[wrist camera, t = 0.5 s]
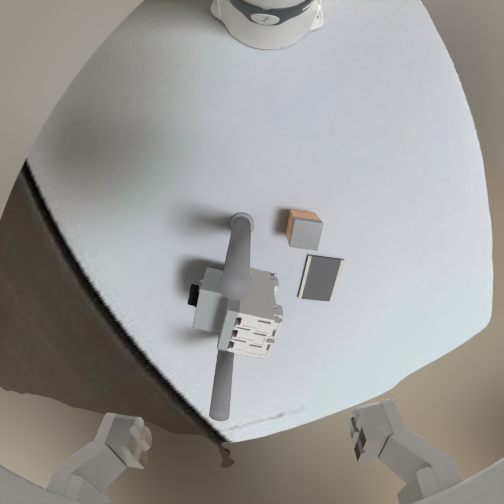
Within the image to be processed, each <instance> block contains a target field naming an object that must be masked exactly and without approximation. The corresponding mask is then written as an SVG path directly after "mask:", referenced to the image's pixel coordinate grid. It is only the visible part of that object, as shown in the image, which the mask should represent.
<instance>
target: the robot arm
mask: <svg viewBox="0 0 504 504" xmlns="http://www.w3.org/2000/svg"><path fill="white" fill-rule="evenodd" d="M210 11H211V14H212V15H213V16H215V17H216V18H218V19H219V20H221V21H222V22H223V23H224V24H225V26H226V28H227V29H228V31H229V32H230V34H231V35H232V36H233V37H234V38H236V39H237V40H238V41H240V42H242V43H243V44H245V45H248V46H251V47H254V48H258V49H279V48H284V47H287V46H290V45H292V44H294V43H295V42H297V41H298V40H300V39H301V38H302V37H303V36H304V35H305V34H307V33H308V32H312V31H315V30H318V29H320V28H322V26H323V24H324V20H323V12H322V5H321V0H214V1H213V3H212V5H211V8H210ZM317 17H318V18H317ZM352 413H353V417H352V418H351V421H350V433H351V438H352V440H353V441H354V442H356V445H355V448H354V450H355V454H356V458H357V462H361V461H366V460H370V459H375V458H378V459H379V460H380V461H382V462H383V463H384V464H385V465H386V466H387V467H388V468H389V469H391V470H392V471H393V472H394V473H395V474H396V475H398V476H399V477H400V478H401V479H402V480H403V481H404V482H406V483H407V484H406V485H405V486H404V487H403V488H402V489H401V491H400V492H399V493H398V495H397V497H398V501H399V504H504V458H502V459H501V460H499V461H497V462H496V463H494V464H493V465H491V466H489V467H488V468H486V469H484V470H482V471H481V472H479V473H477V474H475V475H474V476H472V477H470V478H468V479H466V480H464V481H462V480H461V478H460V475H459V473H458V470H457V468H456V465H455V463H454V461H453V458H452V456H451V455H449V454H447V453H446V452H444V451H442V450H441V449H439V448H438V447H436V446H434V445H433V444H431V443H430V442H428V441H426V440H425V439H423V438H422V437H420V436H419V435H417V434H415V433H414V432H412V431H411V430H407V431H406V429H405V426H404V424H403V421H402V419H401V417H400V414H399V412H398V410H397V407H396V405H395V402H394V401H393V400H392V399H387V400H383V401H380V402H374V403H370V404H366V405H361V406H357V407H354V409H353V412H352ZM143 424H144V421H143V419H142V418H141V417H135V416H127V415H120V414H114V413H107V414H106V415H105V416H104V418H103V420H102V423H101V425H100V428H99V430H98V433H97V435H96V437H95V440H94V442H89V443H88V444H87V445H85V446H84V447H83V448H81V449H80V450H79V451H77V452H76V453H74V454H73V455H72V456H70V457H69V458H67V459H66V460H65V461H63V462H62V463H60V464H59V465H58V466H56V467H55V470H54V472H53V475H52V477H51V480H50V482H49V485H48V487H47V489H45V488H43V487H41V486H39V485H36V484H34V483H32V482H30V481H29V480H26V479H25V478H23V477H21V476H19V475H17V474H15V473H13V472H12V471H10V470H8V469H7V468H5V467H3V466H2V465H0V504H110V503H111V501H110V499H109V498H108V497H106V496H105V495H104V494H102V492H103V491H104V490H105V489H106V488H107V487H108V486H109V485H110V484H111V483H112V482H113V481H114V480H115V479H116V478H117V477H118V476H119V475H120V474H121V472H123V471H124V470H125V469H126V468H127V466H129V467H135V468H142V469H144V468H145V466H146V462H147V458H148V455H147V454H146V451H147V450H148V449H149V448H150V446H151V442H152V439H151V432H150V430H149V429H148V428H147V427H146V426H144V425H143Z"/></svg>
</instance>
